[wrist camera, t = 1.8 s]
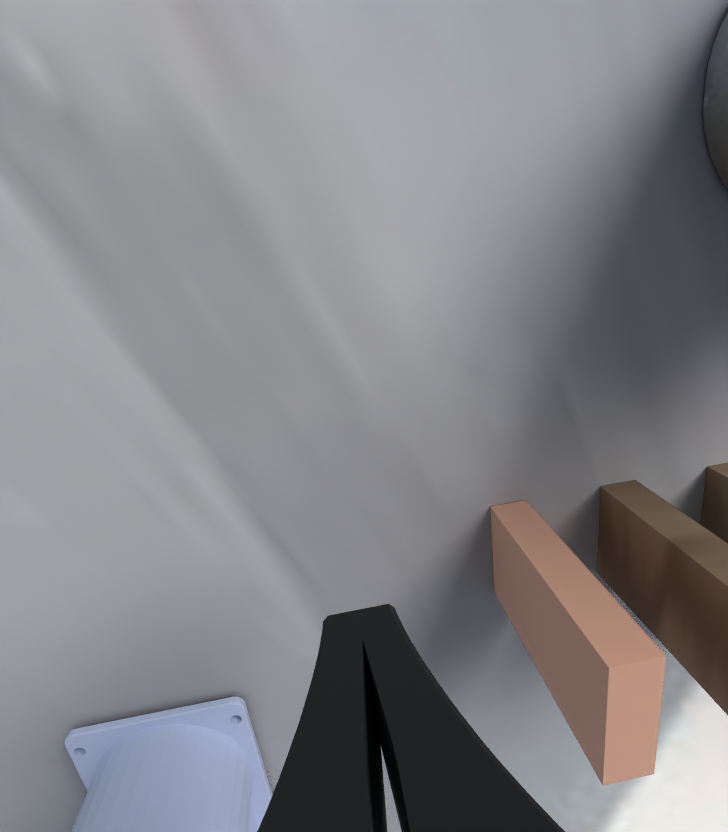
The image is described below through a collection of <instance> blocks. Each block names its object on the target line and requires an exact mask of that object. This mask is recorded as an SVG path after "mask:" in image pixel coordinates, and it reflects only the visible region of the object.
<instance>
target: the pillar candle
mask: <svg viewBox="0 0 728 832" xmlns="http://www.w3.org/2000/svg"><path fill="white" fill-rule="evenodd" d="M704 92H705V95H704V105H703V122H704V130H705V134H706V139H707V144H708V149H709V153H710V156H711V159H712V160H713V162H714V163H715V168H716V169H717V172H718V175H719V177H720V179H721V180H722V181H723V184H724V185H725V187H726V188H727V189H728V12H727V14H726V16H725V18H724V20H723V22H722V24H721V26H720V29H719V31H718V34H717V37H716V40H715V42H714V45H713V48H712V52H711V55H710V59H709V61H708V68H707V73H706V81H705V89H704Z"/></svg>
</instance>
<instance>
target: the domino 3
mask: <svg viewBox="0 0 728 832" xmlns="http://www.w3.org/2000/svg"><path fill="white" fill-rule="evenodd" d="M700 525H701V526H703V527H704V528H706V529H707V530H709V531H710V532H712V533H713V534H715V535H716V536H718V537H719V538H720V539H722V540H723V541H725V542H726V543H728V463H725V464H719V465H714V466H708V467H707V473H706V481H705V490H704V498H703V506H702V514H701V522H700Z"/></svg>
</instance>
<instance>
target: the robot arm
mask: <svg viewBox="0 0 728 832" xmlns="http://www.w3.org/2000/svg"><path fill="white" fill-rule="evenodd" d="M234 715H238V716H234ZM64 744H65V747H66V749H67V751H68V753H69V755H70V757H71V759H72V761H73V763H74V765H75V767H76V769H77V771H78V773H79V775H80V777H81V779H82V781H83V783H84V785H85V788H86V790H87V794H86V797H85V799H84V801H83V804H82V806H81V809H80V811H79V814H78V816H77V819H76V821H75V824H74V826H73V829H72V831H71V832H387V823H386V809H385V796H384V783H383V769H382V756H381V747H382V752H383V756H384V760H385V764H386V768H387V772H388V776H389V780H390V785H391V789H392V793H393V797H394V801H395V805H396V809H397V813H398V817H399V822H400V826H401V830H402V832H565V831H564V830H563V829H562V828H561V827H560V826H559V825H558V824H557V823H556V822H555V821H554V820H553V819H552V818H551V817H550V816H549V815H548V814H547V813H546V812H545V811H544V810H543V808H542V807H541V806H540V805H539V804H538V803H537V802H536V801H535V800H534V799H533V798H532V797H531V796H530V795H529V794H528V793H527V792H526V790H525V789H524V788H523V787H522V786H521V785H520V784H519V783H518V782H517V780H516V779H515V778H514V777H513V776H512V775H511V774H510V773H509V772H508V770H507V769H506V768H505V767H504V766H503V765H502V764H501V762H500V761H499V760H498V759H497V758H496V757H495V755H494V754H493V753H492V752H491V751H490V750H489V748H488V747H487V746H486V745H485V744H484V742H483V741H482V740H481V739H480V737H479V736H478V735H477V734H476V732H475V731H474V730H473V729H472V727H471V726H470V725H469V724H468V722H467V721H466V720H465V719H464V717H463V716H462V715H461V713H460V712H459V711H458V709H457V708H456V707H455V705H454V704H453V703H452V701H451V700H450V699H449V697H448V696H447V695H446V693H445V692H444V690H443V689H442V687H441V686H440V685H439V683H438V682H437V680H436V679H435V677H434V676H433V675H432V673H431V672H430V670H429V669H428V667H427V666H426V664H425V663H424V661H423V660H422V658H421V657H420V655H419V653H418V652H417V650H416V648H415V647H414V645H413V643H412V642H411V640H410V638H409V636H408V635H407V633H406V631H405V629H404V627H403V625H402V623H401V621H400V619H399V617H398V615H397V613H396V610H395V608H394V607H393V606H391V605H389V604H386V605H381V606H376V607H370V608H365V609H360V610H355V611H350V612H345V613H340V614H335V615H329V616H327V618H326V619H325V620H324V621H323V629H322V636H321V642H320V648H319V652H318V657H317V661H316V665H315V669H314V673H313V677H312V681H311V685H310V688H309V691H308V695H307V698H306V702H305V705H304V708H303V712H302V715H301V718H300V721H299V724H298V727H297V730H296V733H295V736H294V739H293V742H292V744H291V747H290V750H289V753H288V756H287V758H286V761H285V764H284V767H283V770H282V772H281V775H280V778H279V780H278V783H277V785H276V788H275V790H274V793H273V795H272V791H271V788H270V784H269V781H268V778H267V774H266V771H265V767H264V764H263V761H262V757H261V754H260V751H259V747H258V744H257V740H256V737H255V734H254V730H253V727H252V724H251V720H250V717H249V713H248V710H247V707H246V703H245V701H244V700H243V699H242V698H240V697H229V698H224V699H219V700H214V701H209V702H204V703H199V704H194V705H189V706H184V707H180V708H175V709H170V710H165V711H160V712H155V713H150V714H145V715H140V716H135V717H130V718H126V719H121V720H116V721H111V722H106V723H101V724H96V725H91V726H86V727H81V728H76V729H74V730H71V731H70V732H69V733H68V735H67V737H66V739H65V742H64Z"/></svg>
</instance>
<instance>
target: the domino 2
mask: <svg viewBox="0 0 728 832" xmlns="http://www.w3.org/2000/svg"><path fill="white" fill-rule="evenodd" d="M597 573H598V574H599V575H600V576H601V577H602V578H603V580H604V581H605V582H606V583H607V584H608V585H609V586H610V587H611V588H612V589H613V590H614V592H615V593H616V594H617V595H618V596H619V597H620V598H621V599H622V600H623V601H624V602H625V604H626V605H627V606H628V607H629V608H630V609H631V610H632V611H633V612H634V613H635V614H636V616H637V617H638V618H639V619H640V620H641V621H642V622H643V623H644V624H645V625H646V626H647V628H648V629H649V630H650V631H651V632H652V633H653V634H654V635H655V636H656V637H657V638H658V640H659V641H660V642H661V643H662V644H663V645H664V646H665V647H666V648H667V649H668V650H669V652H670V653H671V654H672V655H673V656H674V657H675V658H676V659H677V660H678V661H679V662H680V664H681V665H682V666H683V667H684V668H685V669H686V670H687V671H688V672H689V673H690V674H691V676H692V677H693V678H694V679H695V680H696V681H697V682H698V683H699V684H700V685H701V686H702V688H703V689H704V690H705V691H706V692H707V693H708V694H709V695H710V696H711V697H712V698H713V700H714V701H715V702H716V703H717V704H718V705H719V706H720V707H721V708H722V709H723V710H724V712H725V713H726V714H727V715H728V543H726V542H725V541H723V540H722V539H720V538H719V537H718V536H716V535H715V534H713V533H712V532H710V531H709V530H707V529H706V528H704V527H703V526H701V525H700V524H699V523H697V522H696V521H694V520H693V519H691V518H690V517H688V516H687V515H685V514H684V513H683V512H681V511H680V510H678V509H677V508H675V507H674V506H672V505H671V504H669V503H668V502H666V501H665V500H664V499H662V498H661V497H659V496H658V495H656V494H655V493H653V492H652V491H650V490H649V489H648V488H646V487H645V486H643V485H642V484H640V483H639V482H637V481H636V480H632V481H627V482H621V483H616V484H610V485H605V486H601V487H600V513H599V539H598V565H597Z"/></svg>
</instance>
